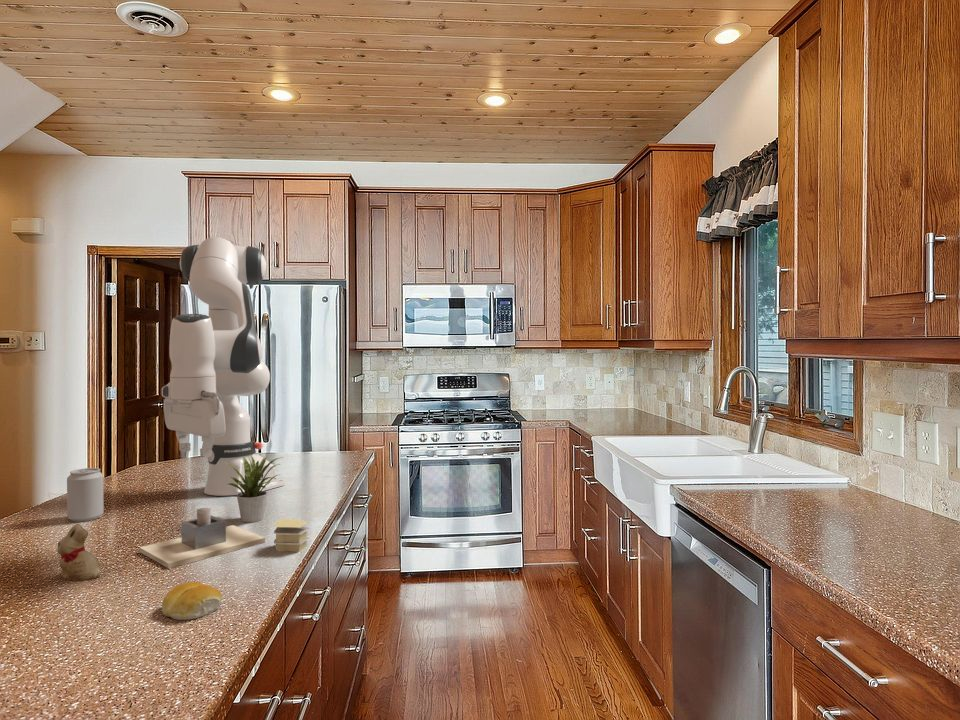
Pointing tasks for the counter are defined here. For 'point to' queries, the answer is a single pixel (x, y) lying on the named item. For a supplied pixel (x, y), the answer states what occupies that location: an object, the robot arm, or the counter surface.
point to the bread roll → (191, 601)
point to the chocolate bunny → (77, 556)
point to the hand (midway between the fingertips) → (195, 454)
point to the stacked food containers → (290, 535)
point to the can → (85, 494)
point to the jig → (180, 554)
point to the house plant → (252, 490)
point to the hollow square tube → (203, 533)
